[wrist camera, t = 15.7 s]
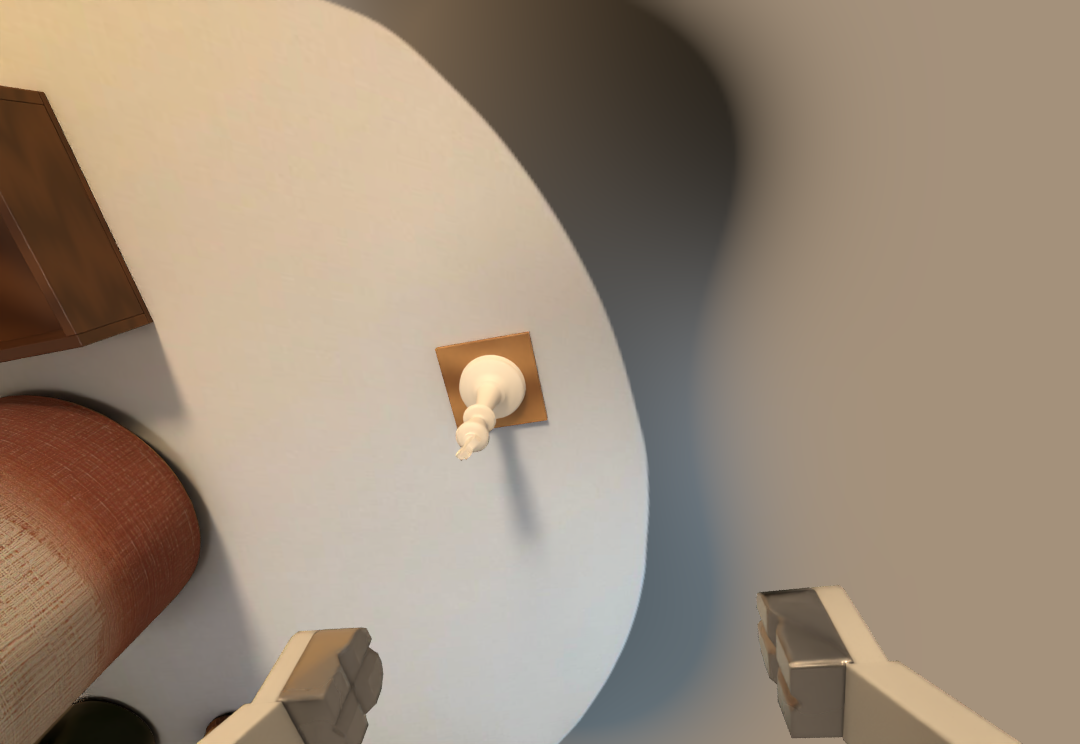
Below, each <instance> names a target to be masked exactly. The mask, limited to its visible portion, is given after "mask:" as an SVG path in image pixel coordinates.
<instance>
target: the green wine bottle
mask: <svg viewBox="0 0 1080 744" xmlns="http://www.w3.org/2000/svg"><path fill="white" fill-rule="evenodd" d="M34 744H155V740H154V736H153V734H152V732H151V730H150V728H149V727H148V726H147V724H146V723H145V722H144V721H143V720H142V719H141V718H140V717H139V716H137V715H136V714H134V713H133V712H131V711H130V710H128V709H126V708H124V707H121V706H119V705H116V704H113V703H109V702H104V701H83V702H79V703H76V704H74V705H72V706H70V707H68V708H67V709H66V710H65V712H64V713H63V714H62V715H61V716H60V717H59V718H58V719H57V720H56V721H55V722H54V723H53V724H52V725H51V726H50V727H49V728H48V729H47V730H46V731H45V732H44V733H43V734H42V735H41V736H40V737H39V738H38V739H37V740H36V742H35V743H34Z"/></svg>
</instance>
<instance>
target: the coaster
mask: <svg viewBox="0 0 1080 744" xmlns="http://www.w3.org/2000/svg"><path fill="white" fill-rule="evenodd" d="M435 351H436V354H437V358H438V361H439V365H440V368H441V372H442V375H443V379H444V383H445V386H446V390H447V393H448V397H449V400H450V404H451V407H452V411H453V414H454V418H455V421H456V425H457V428H459V427H460V425H462V424H463V423H464V422H463V415H464V412H465V410H466V409H467V408H468V407H467V406H466V405H465V404H464V402H463V400H462V398H461V395H460V391H459V383H460V377H461V374H462V372H463V370H464V368H465V367H466V366H467V365H468V364H469V363H470V362H471V361H472V360H474V359H476V358H478V357H481V356H485V355H497V356H501V357H504V358H506V359H508V360H510V361H512V362H513V363H514V364H515V365H516V366H517V367H518V368H519V369H520V371H521V372H522V374H523V376H524V379H525V383H526V392H525V396H524V399H523V401H522V402H521V404H520V406H519V407H518V408H517V409H516V410H515V411H514V412H513V413H511V414H510V415H508V416H506V417H503V418H498V419H496V424H495V426H494V428H498V427H504V426H511V425H518V424H524V423H531V422H538V421H545V420H547V413H546V409H545V404H544V399H543V395H542V390H541V385H540V381H539V376H538V371H537V366H536V362H535V357H534V352H533V348H532V343H531V338H530V334H529V332H523V333H518V334H512V335H506V336H500V337H495V338H489V339H483V340H477V341H472V342H466V343H460V344H454V345H449V346H443V347H437V348H436V349H435Z"/></svg>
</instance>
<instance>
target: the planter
mask: <svg viewBox="0 0 1080 744" xmlns="http://www.w3.org/2000/svg"><path fill="white" fill-rule="evenodd" d="M200 544H201V538H200V529H199V524H198V520H197V516H196V513H195V510H194V507H193V504H192V502H191V500H190V498H189V496H188V494H187V492H186V490H185V489H184V487H183V485H182V484H181V482H180V480H179V479H178V477H177V476H176V475H175V473H174V472H173V470H172V469H171V468H170V467H169V466H168V464H167V463H166V462H165V461H164V460H163V459H162V458H161V457H160V456H159V455H158V454H157V453H156V452H155V451H154V450H153V449H152V448H151V447H150V446H149V445H148V444H147V443H145V442H144V441H143V440H142V439H141V438H139V437H138V436H137V435H135V434H134V433H132V432H131V431H129V430H128V429H126V428H125V427H123V426H122V425H120V424H118V423H117V422H115V421H113V420H112V419H110V418H108V417H106V416H104V415H102V414H100V413H98V412H96V411H94V410H91V409H89V408H86V407H84V406H81V405H78V404H75V403H72V402H68V401H65V400H61V399H57V398H51V397H45V396H34V395H17V396H7V397H2V398H0V744H34V743H35V742H36V740H37V739H38V738H39V737H40V736H41V735H42V734H43V733H44V732H45V731H46V730H47V729H48V728H49V727H50V726H51V725H52V724H53V723H54V722H55V721H56V720H57V719H58V718H59V717H60V716H61V715H62V714H63V713H64V712H65V710H66V709H67V708H68V707H69V706H70V705H71V704H72V703H73V702H74V701H75V700H76V699H77V698H78V697H79V696H80V695H81V694H82V693H83V692H84V691H85V690H86V689H87V688H88V687H89V686H90V685H91V684H92V683H93V682H94V681H95V680H96V679H97V678H98V677H99V676H100V675H101V674H102V673H103V671H104V670H105V669H106V668H107V667H108V666H109V665H110V664H111V663H112V662H113V661H114V660H115V659H116V658H117V657H118V656H119V655H120V654H121V653H122V652H123V651H124V650H125V649H126V648H127V647H128V646H129V645H130V644H131V643H132V642H133V641H134V640H135V639H136V638H137V637H138V636H139V635H140V634H141V633H142V632H143V631H144V630H145V629H146V627H147V626H148V625H149V624H150V623H151V622H152V621H153V620H154V619H155V618H156V617H157V616H158V615H159V614H160V613H161V612H162V611H163V610H164V609H165V608H166V607H167V606H168V605H169V604H170V603H171V601H172V600H173V599H174V598H175V597H176V596H177V595H178V594H179V592H180V591H181V590H182V589H183V587H184V586H185V585H186V583H187V582H188V581H189V579H190V578H191V576H192V574H193V572H194V570H195V568H196V566H197V563H198V559H199V554H200Z"/></svg>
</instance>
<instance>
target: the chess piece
mask: <svg viewBox="0 0 1080 744" xmlns="http://www.w3.org/2000/svg"><path fill="white" fill-rule="evenodd" d="M459 391H460V395H461V398H462V400H463V402H464V404H465V405H466V406H467V407H468V408H467V409H466V410H465V412H464V415H463V422H464V423H463V424H462V425H460V427H459V428H458V429H457V432H456V440H457V442H458V444H459V445H460V447H461V449H460V450H459V451H458V452H457V454H456V457H457V458H459V459H460V460H463V459H464V458H465V459H467V458H468V457H469V456H470V455H471V453H472V452H478V451H481V450H483V449H484V448H485V447H486V446H487V444H488V442H489V432H490V431H491V430H492V429H493V428H494V426H495V424H496V419H498V418H503V417H506V416H508V415H510V414H511V413H513V412H514V411H515V410H516V409H517V408H518V407H519V406H520V404H521V402H522V401H523V399H524V396H525V392H526V383H525V379H524V376H523V374H522V372H521V371H520V369H519V368H518V367H517V366H516V365H515V364H514V363H513V362H512V361H510V360H508V359H506V358H504V357H501V356H497V355H485V356H481V357H478V358H476V359H474V360H472V361H471V362H470V363H469V364H468V365H467V366H466V367H465V368H464V370H463V372H462V374H461V377H460V383H459Z"/></svg>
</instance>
